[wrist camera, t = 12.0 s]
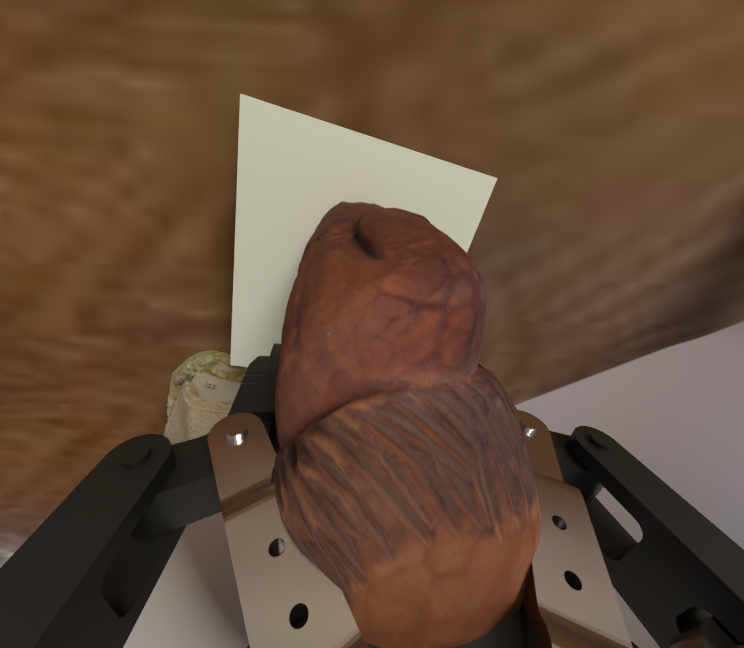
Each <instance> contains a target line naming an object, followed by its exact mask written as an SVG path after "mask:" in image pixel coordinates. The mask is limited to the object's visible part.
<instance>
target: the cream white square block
mask: <svg viewBox="0 0 744 648" xmlns="http://www.w3.org/2000/svg"><path fill="white" fill-rule="evenodd" d="M496 180H497V178H495V177H492V176H488V175H485V174H482V173H479V172H476V171H473V170H470V169H467V168H464V167H461V166H458V165H455V164H452V163H449V162H446V161H443V160H440V159H437V158H434V157H431V156H428V155H425V154H422V153H419V152H416V151H413V150H410V149H407V148H404V147H401V146H398V145H394V144H391V143H388V142H385V141H382V140H379V139H376V138H373V137H370V136H367V135H364V134H361V133H358V132H355V131H352V130H349V129H346V128H343V127H340V126H337V125H334V124H331V123H328V122H325V121H322V120H319V119H316V118H313V117H310V116H307V115H303V114H300V113H297V112H294V111H291V110H288V109H285V108H282V107H279V106H276V105H273V104H270V103H267V102H264V101H261V100H258V99H255V98H252V97H249V96H246V95H243V94H240V114H239V141H238V169H237V196H236V223H235V251H234V278H233V305H232V333H231V360H230V365H235V366H244V367H248V366H249V364H250V363H251V362H252V361H253V360H254V359H256V358H257V357H258V356H270V353H271V350H272V347H273V344H274V343H280V344H281V337H282V328H283V322H284V318H285V312H286V306H287V303H288V299H289V296H290V293H291V291H292V287H293V283H294V281H295V279H296V277H297V275H298V268H299V263H300V262H301V259H302V256H303V253H304V250H305V247H306V245H307V243H308V241H309V239H310V238H311V236H312V235H313V233H314V232H315V230H316V227H317V226H318V225H319V223H320V221H321V219H322V218H323V216H324V215H325V214H326V213H327V212H328V211H329V210H330V209H331V208H332V207H334V206H335V205H337V204H338V203H340V202H342V201H343V202H349V203H356V202H365V203H369V204H372V203H374V204H377V205H379V206H381V207H384V208H398V209H403V210H406V211H409V212H413V213H416V214H419V215H422V216H424V217H425V218H427V219H428V220H429V221H430V223H431V224H432V225H434V226H435V227H436V228H437V229H439V230H440V231H442V232H444V233H445V234H447V235H448V236H449V237H450V238H451V239H452V240H453V241H455V242H456V243H457V244H458V245H459V246H460V247H461V248H462V249H463V250H464V251H466V252H467V251H468V249H469V247H470V244H471V242H472V239H473V237H474V234H475V232H476V229H477V227H478V225H479V222H480V220H481V217H482V215H483V212H484V210H485V207H486V205H487V202H488V200H489V198H490V195H491V193H492V190H493V188H494V185H495V183H496Z"/></svg>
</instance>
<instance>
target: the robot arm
mask: <svg viewBox="0 0 744 648" xmlns="http://www.w3.org/2000/svg"><path fill="white" fill-rule="evenodd" d="M280 349H281V344H280V343H274V344H273V347H272V350H271V353H270V356H258V357H257V358H256V359H254V360H253V361H252V362H251V363H250V364H249V366H248V368H247V371H246V373H245V376H244V378H243V380H242V384H241V385H240V387H239V390H238V392H237V395H236V397H235V399H234V402H233V404H232V407H231V409H230V411H229V414H228V416H227V417H225V418H223V419H221V420H220V421H218V422H217V423H216V424H215V425H214V426H213V427H212V428H211V430H210V432H209V433H208V434H206V435H204V436H201V437H198V438H195V439H191V440H187V441H184V442H180V443H176V444H172V445H171V443H170V440H169V439H168V438H166V437H165V436H163V435H159V434H147V435H141V436H138V437H135V438H132V439H130V440H127V441H125V442H123V443H121V444H120V445H118V446H117V447H115V448H114V449H113V450H111V451H110V452H109V453H108V454H107V455H106V456H105V457H104V458H103V459H102V460H101V461H100V462H99V463H98V464H97V466H96V467H95V468H94V469H93V470H92V471H91V472H90V473H89V474H88V475H87V476H86V477H85V478H84V479H83V480H82V482H81V483H80V484H79V485H78V486H77V487H76V488H75V489H74V490H73V491H72V492H71V493H70V494H69V495H68V497H67V498H66V499H65V500H64V501H63V502H62V503H61V504H60V505H59V506H58V507H57V508H56V509H55V510H54V511H53V513H52V514H51V515H50V516H49V517H48V518H47V519H46V520H45V521H44V522H43V523H42V524H41V525H40V526H39V527H38V529H37V530H36V531H35V532H34V533H33V534H32V535H31V536H30V537H29V538H28V539H27V540H26V541H25V542H24V544H23V545H22V546H21V547H20V548H19V549H18V550H17V551H16V552H15V553H14V554H13V555H12V556H11V557H10V558H9V560H8V561H7V562H6V563H5V564H4V565H3V566H2V567H1V568H0V648H123V646H124V645H125V643H126V641H127V639H128V637H129V635H130V633H131V631H132V629H133V627H134V625H135V623H136V621H137V620H138V618H139V615H140V614H141V612H142V610H143V608H144V606H145V604H146V602H147V600H148V598H149V596H150V594H151V593H152V591H153V589H154V587H155V585H156V583H157V581H158V579H159V577H160V575H161V573H162V571H163V569H164V567H165V565H166V564H167V562H168V560H169V558H170V556H171V554H172V552H173V550H174V548H175V546H176V544H177V542H178V540H179V539H180V537H181V535H182V532H183V531H184V529H185V527H186V525H187V524H190V523H192V522H195V521H197V520H200V519H203V518H206V517H208V516H211V515H213V514H216V513H219V512H221V511H222V514H223V519H224V524H225V529H226V533H227V539H228V544H229V548H230V553H231V558H232V562H233V567H234V573H235V577H236V582H237V587H238V592H239V597H240V602H241V606H242V611H243V616H244V621H245V626H246V630H247V635H248V640H249V645H248V647H247V648H380V647H378V646H375V645H372V644H368V643H366V642H365V640H364V638H363V637H362V635H361V633H360V631H359V628H358V626H357V624H356V622H355V619H354V617H353V615H352V613H351V610H350V608H349V606H348V604H347V601H346V599H345V597H344V594H343V592H342V590H341V589H340V588H339V587H337V586H336V585H335V584H334V583H333V582H332V581H331V580H330V579H329V578H327V577H326V576H325V575H324V574H323V573H322V572H321V571H320V569H319V568H318V567H317V566H316V565H315V564H314V563H313V562H311V561H310V559H309V558H308V556H307V555H306V554H305V553H304V552H303V551H302V550H301V549H300V548H299V546H298V545H297V543H296V541H295V539H294V538H293V536H292V535H291V534H290V532H289V531H288V530H287V528H286V526H285V524H284V522H283V520H282V517H281V514H280V510H279V506H278V503H277V500H276V495H275V488H274V483H271V478H272V470H273V468H274V461H275V458H276V456H277V451H278V446H277V432H276V417H275V391H276V380H277V374H278V368H279V359H280ZM478 367H481V368H484V367H482V366H481V365H480V364H478ZM484 369H485V368H484ZM516 411H517V415H518V418H519V422H520V425H521V428H522V430H523V432H524V434H525V438H526V442H527V445H528V450H529V454H530V459H531V464H532V469H533V475H534V481H535V486H536V491H537V496H538V501H539V507H540V514H541V522H542V529H541V537H540V541H539V545H538V548H537V550H536V553H535V555H534V557H533V560H532V562H531V566H530V571H529V575H528V580H527V585H526V589H525V593H524V598H523V605H522V606H521V607H520V609H519V610H517V611H516V612H515V613H514V614H513V615H512V616H511V617H509V618H508V619H506V620H505V621H503V622H502V623H501V624H499V625H498V626H497V627H495V628H494V629H493V630H491V631H490V632H488V633H487V634H485V635H483V636H482V637H480V638H478V639H476V640H474V641H472V642H470V643H467V644H464V645H460V646H456V647H451V648H638V647H637V646H636V645H635V644H634V643H633V642H632V641H631V640H630V638H629V635H628V632H627V628H626V625H625V623H624V619H623V617H622V613H621V610H620V607H619V604H618V601H617V598H616V595H615V592H614V589H613V586H614V588H615V589H616V590H617V592H618V593H619V594H620V596H621V597H622V598H623V599H624V601H625V602H626V603H627V605H628V606H629V607H630V609H631V610H632V611H633V613H634V614H635V615H636V616H637V618H638V619H639V620H640V622H641V623H642V624H643V626H644V627H645V628H646V630H647V631H648V632H649V634H650V635H651V636H652V637H653V639H654V640H655V641H656V643H657V644H658V645H659V646H660V648H744V550H743V549H742V548H741V547H739V546H738V545H737V544H736V543H735V542H734V541H733V540H731V539H730V538H729V537H728V536H727V535H726V534H724V533H723V532H722V531H721V530H720V529H718V528H717V527H716V526H715V525H714V524H713V523H711V522H710V521H709V520H708V519H707V518H706V517H704V516H703V515H702V514H701V513H699V512H698V511H697V510H696V509H695V508H694V507H693V506H691V505H690V504H689V503H688V502H687V501H685V500H684V499H683V498H682V497H681V496H680V495H679V494H677V493H676V492H675V491H674V490H673V489H671V488H670V487H669V486H668V485H667V484H665V483H664V482H663V481H662V480H661V479H660V478H659V477H657V476H656V475H655V474H654V473H653V472H651V471H650V470H649V469H648V468H647V467H646V466H644V465H643V464H642V463H641V462H640V461H639V460H637V459H636V458H635V457H634V456H633V455H632V454H630V453H629V452H628V451H627V450H625V449H624V448H623V447H622V446H621V445H620V444H619V443H617V442H616V441H615V440H614V439H612V438H611V437H610V436H608V435H607V434H605V433H603V432H601V431H599V430H597V429H594V428H592V427H587V426H579V427H577V428H575V430H574V431H573V433H572V435H571V436H569V435H564V434H560V433H556V432H552V431H549V430H548V428H547V427H546V425H545V424H544V423H543V422H542V421H541V420H539V419H538V418H536V417H535V416H533V415H531V414H529V413H527V412H524V411H519V410H517V409H516ZM603 487H605V488H606V489H607V491H609V493H610V494H611V495H612V496H613V497H614V498H615V499H616V500H617V501H618V502H619V503H620V504H621V505H622V506H623V507H624V508H625V509H626V510H627V511H628V512H629V513H630V514H631V515H632V516H633V517H634V518H635V519H636V521H637V522H638V523H639V524H640V527H641V529H642V532H643V538H642V540H641V541H640V542H639V543H637V542H636V541H635V540H634V539H633V538H632V537H631V536H630V534H629V533H628V532H627V531H626V530H625V529H624V528H623V527H622V526H621V525H620V524H619V522H618V521H617V520H616V519H615V518H614V517H613V516H612V515H611V514H610V513H609V512H608V510H607V509H606V508H605V507H604V506H603V505H602V504H601V503H600V502H599V500H598V499H597V498H596V495H597V494H598V493H599V492H600V491H601V489H602V488H603ZM283 551H284V552H283ZM282 552H283V553H282ZM281 553H282V554H281ZM279 554H281V555H280V556H278V557H275V556H276V555H279ZM612 585H613V586H612Z"/></svg>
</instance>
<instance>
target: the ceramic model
mask: <svg viewBox="0 0 744 648" xmlns="http://www.w3.org/2000/svg"><path fill="white" fill-rule="evenodd" d="M230 360H231V354H227V353H223V352H218V351H212V350H209V351H204V352H200V353H197V354H195V355H193V356H191V357H190V358H188V359H187V360H186V361H184V362H183V363H182V364H181V365H180V366H179V367H178V368H177V369H175V370H174V372H173V373H172V376H171V377H172V378H171V381H170V389H169V396H168V404H167V406H168V410H167V416H168V419H167V420H168V422H167V424H166V426H165V432H164V436H165V437H166V438H168V439H169V440H170V443H171V445H172V444H176V443H180V442H184V441H187V440H191V439H195V438H198V437H201V436H204V435H206V434H208V433H209V432H210V430H211V428H212V427H213V426H214V425H215V424H216V423H217V422H218V421H220V420H221V419H223V418H225V417H227V416H228V414H229V411H230V409H231V407H232V404H233V402H234V399H235V397H236V395H237V392H238V390H239V387H240V385H241V384H242V380H243V378H244V376H245V373H246V371H247V368H248V367H244V366H235V365H230Z"/></svg>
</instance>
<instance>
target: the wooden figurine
mask: <svg viewBox="0 0 744 648" xmlns="http://www.w3.org/2000/svg"><path fill="white" fill-rule="evenodd" d="M485 316H486V298H485V291H484V287H483V282H482V279H481V276H480V273H479V271H478V270H477V267H476V265H475V263H474V261H473V260H472V258H471V256H470V255H469V254H468V253H467V252H466V251H464V250H463V249H462V248H461V247H460V246H459V245H458V244H457V243H456V242H455V241H453V240H452V239H451V238H450V237H449V236H448V235H447V234H445V233H444V232H442V231H440V230H439V229H437V228H436V227H435V226H434V225H432V224H431V223H430V221H429V220H428V219H427V218H425V217H424V216H422V215H419V214H416V213H413V212H409V211H406V210H403V209H398V208H384V207H381V206H379V205H377V204H374V203H372V204H369V203H365V202H356V203H349V202H343V201H342V202H340V203H338V204H337V205H335V206H334V207H332V208H331V209H330V210H329V211H328V212H327V213H326V214H325V215H324V216H323V218H322V219H321V221H320V223H319V225H318V226H317V227H316V230H315V232H314V233H313V235H312V236H311V238H310V239H309V241H308V243H307V245H306V247H305V250H304V253H303V256H302V259H301V262H300V263H299V268H298V275H297V277H296V279H295V281H294V283H293V287H292V291H291V293H290V296H289V299H288V303H287V306H286V312H285V318H284V322H283V328H282V337H281V349H280V359H279V368H278V374H277V380H276V391H275V417H276V432H277V446H278V451H277V456H276V458H275V461H274V468H273V470H272V478H271V483H274V488H275V495H276V500H277V503H278V506H279V510H280V514H281V517H282V520H283V522H284V524H285V526H286V528H287V530H288V531H289V532H290V534H291V535H292V536H293V538H294V539H295V541H296V543H297V545H298V546H299V548H300V549H301V550H302V551H303V552H304V553H305V554H306V555H307V556H308V558H309V559H310V561H311V562H313V563H314V564H315V565H316V566H317V567H318V568H319V569H320V571H321V572H322V573H323V574H324V575H325V576H326V577H327V578H329V579H330V580H331V581H332V582H333V583H334V584H335V585H336V586H337V587H339V588H340V589H341V590H342V592H343V594H344V597H345V599H346V601H347V604H348V606H349V608H350V610H351V613H352V615H353V617H354V619H355V622H356V624H357V626H358V628H359V631H360V633H361V635H362V637H363V638H364V640H365V642H366V643H368V644H372V645H375V646H378V647H380V648H451V647H456V646H460V645H464V644H467V643H470V642H472V641H474V640H476V639H478V638H480V637H482V636H483V635H485V634H487V633H488V632H490V631H491V630H493V629H494V628H495V627H497V626H498V625H499V624H501V623H502V622H503V621H505V620H506V619H508V618H509V617H511V616H512V615H513V614H514V613H515V612H516V611H517V610H519V609H520V607H521V606H522V605H523V598H524V593H525V589H526V585H527V580H528V575H529V571H530V566H531V562H532V560H533V557H534V555H535V553H536V550H537V548H538V545H539V541H540V537H541V529H542V522H541V514H540V507H539V501H538V496H537V491H536V486H535V481H534V475H533V469H532V464H531V459H530V454H529V450H528V445H527V442H526V438H525V434H524V432H523V430H522V428H521V425H520V422H519V418H518V415H517V411H516V408H515V406H514V404H513V401H512V400H511V398H510V397H509V395H508V394H507V392H506V391H505V389H504V387H503V386H502V384H501V383H500V381H499V379H498V378H497V376H496V375H495V373H493V372H491V371H489V370H486V369H484V368H481V367H478V362H479V358H480V354H481V349H482V345H483V338H484V327H485ZM283 552H284V551H283ZM283 552H282V553H283ZM282 553H281V554H282ZM281 554H279V555H276V556H275V557H278V556H280V555H281Z"/></svg>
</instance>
